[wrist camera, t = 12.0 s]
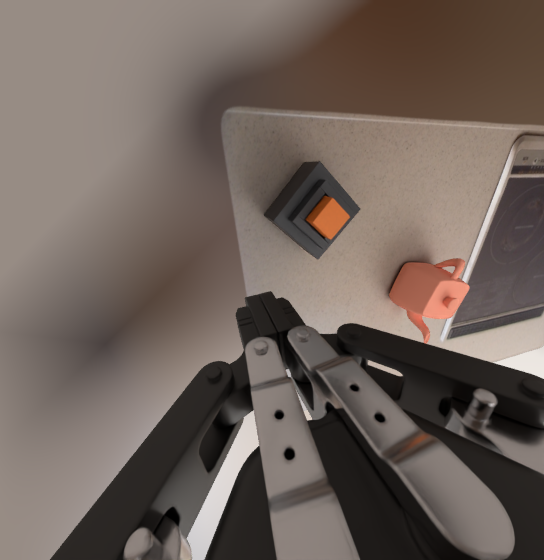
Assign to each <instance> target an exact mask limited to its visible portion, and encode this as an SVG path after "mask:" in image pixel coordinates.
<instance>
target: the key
mask: <svg viewBox="0 0 544 560" xmlns="http://www.w3.org/2000/svg"><path fill="white" fill-rule="evenodd" d="M349 218H350V216H349V215H348V214H347V213H346V212H345V210H344V209H343V208H342V207H341V206H340V205H339V204H338V203H337V202H336V201H335V199H334V198H332V197H327V196H324V197H323V198H322V199H321V200H320V202H319V203H318V204H317V205H316V207H315V208H314V209H313V210H312V212H311V213H310V214H309V215H308V217H307V218H306V220H307V221H308V222H309V223H310V224H311V225H312V226H313V227H314V228H315V229H316V230H317V231H318V232H319V233H320V234H321V235H323V236H324V237H326V238H328V239H330V240H331V239H332V238H333V237H334V236H335V235H336V233H337V232H338V231H339V230H340V229H341V227H342V226H343V225H344V224H345V223H346V221H347V220H348V219H349Z"/></svg>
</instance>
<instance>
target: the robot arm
mask: <svg viewBox="0 0 544 560" xmlns="http://www.w3.org/2000/svg"><path fill="white" fill-rule="evenodd" d="M245 302H246V307H242V308H238V310H237V312H236V319H237V324H238V328H239V333H240V337H241V341H242V345H243V348H244V352H243V354H242V355H241V356H240V357H239V358H238V359H237V360H236V361H234V362H233V363H231V364H228V363H226V362H222V361H216V362H212V363H210V364H208V365H206V366H204V367H203V368H202V369H201V370H200V371H199V373H198V374H197V375H196V376H195V377H194V379H193V380H192V381H191V383H190V384H189V385H188V386H187V388H186V389H185V390H184V391H183V393H182V394H181V395H180V396H179V398H178V399H177V400H176V401H175V403H174V404H173V405H172V406H171V408H170V409H169V410H168V412H167V413H166V414H165V415H164V417H163V418H162V419H161V420H160V422H159V423H158V424H157V425H156V427H155V428H154V429H153V431H152V432H151V433H150V434H149V436H148V437H147V438H146V439H145V441H144V442H143V443H142V444H141V446H140V447H139V448H138V449H137V451H136V452H135V453H134V454H133V456H132V457H131V458H130V459H129V461H128V462H127V463H126V464H125V466H124V467H123V468H122V470H121V471H120V472H119V474H118V475H117V476H116V477H115V478H114V480H113V481H112V482H111V484H110V485H109V486H108V487H107V488H106V490H105V491H104V492H103V493H102V495H101V496H100V497H99V499H98V500H97V501H96V502H95V504H94V505H93V506H92V508H91V509H90V510H89V511H88V512H87V514H86V515H85V516H84V518H83V519H82V520H81V521H80V523H79V524H78V525H77V526H76V528H75V529H74V530H73V532H72V533H71V534H70V535H69V536H68V538H67V539H66V540H65V541H64V543H63V544H62V545H61V546H60V548H59V549H58V550H57V552H56V553H55V554H54V555H53V557H52V558H51V559H50V560H192V553H191V548H190V545H189V542H188V540H187V539H186V538H187V536H188V534H189V532H190V530H191V528H192V526H193V524H194V522H195V520H196V518H197V516H198V514H199V512H200V510H201V508H202V505H203V503H204V501H205V499H206V497H207V495H208V493H209V491H210V489H211V487H212V485H213V483H214V481H215V478H216V477H217V475H218V473H219V471H220V468H221V466H222V464H223V462H224V460H225V458H226V456H227V454H228V452H229V450H230V448H231V446H232V444H233V442H234V439H235V438H236V436H237V434H238V431H239V429H240V427H241V425H242V423H243V419H244V417H245V416H246V415H247V414H249V413H250V412H251V411H253V410H254V414H255V421H256V426H257V433H258V440H259V446H258V447H257V448H256V449H255V450H254V451H253V452H252V453H251V454H250V456H249V457H248V458H247V460H246V461H245V463H244V464H243V466H242V468H241V470H240V471H239V473H238V476H237V478H236V480H235V483H234V486H233V488H232V491H231V493H230V496H229V498H228V501H227V503H226V506H225V509H224V511H223V514H222V516H221V519H220V521H219V524H218V526H217V529H216V532H215V534H214V537H213V539H212V542H211V544H210V547H209V550H208V552H207V555H206V557H205V560H544V379H542V378H540V377H538V376H535V375H532V374H529V373H525V372H522V371H519V370H515V369H512V368H508V367H505V366H501V365H498V364H495V363H491V362H488V361H484V360H481V359H477V358H474V357H470V356H467V355H463V354H460V353H456V352H453V351H449V350H446V349H442V348H439V347H435V346H432V345H428V344H425V343H421V342H418V341H415V340H411V339H408V338H404V337H401V336H397V335H394V334H390V333H387V332H383V331H380V330H376V329H373V328H369V327H366V326H362V325H359V324H353V323H349V324H344V325H342V326H340V327H339V328H338V330H337V334H319V333H318V332H317V331H316V330H315V329H314V328H312V327H309V326H306V325H305V323H304V322H303V320H302V319H301V318H300V316H299V315H298V313H297V312H296V311H295V309H294V308H293V307H292V305H291V304H290V302H289V301H288V300H286V299H284V298H278V299H276V298H275V296H274V295H273V293H272V292H271V291H270V292H266V293H262V294H258V295H253V296H249V297H245ZM368 360H370V361H373V362H376V363H378V364H381V365H384V366H387V367H389V368H392V369H395V370H397V371H399V372H400V373H401V374H402V375H403V376H396V375H394V374H391V373H388V372H385V371H383V370H380V369H377V368H375V367H372V366H369V365H368ZM286 369H289V370H290V372H291V377H288V375H287V372H286ZM296 390H297V392H298V394H299V396H300V397H301V399H302V401H303V403H304V405H305V406H306V408H307V410H308V412H309V413H310V415H311V417H312V420H309V421H307V420H306V417H305V414H304V411H303V409H302V406H301V403H300V400H299V398H298V395H297V392H296Z"/></svg>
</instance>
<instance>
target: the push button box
mask: <svg viewBox="0 0 544 560" xmlns="http://www.w3.org/2000/svg"><path fill="white" fill-rule="evenodd" d="M324 196H327V197H332V198H334V199H335V201H336V202H337V203H338V204H339V205H340V206H341V207H342V208H343V209H344V210H345V212H346V213H347V214H348V215H349V216H350V218H349V219H348V220H347V221H346V223H345V224H344V225H343V226H342V227H341V229H340V230H339V231H338V232H337V233H336V235H335V236H334V237H333V238H332V239H331V240H330V239H328V238H326V237H324V236H323V235H321V234H320V233H319V232H318V231H317V230H316V229H315V228H314V227H313V226H312V225H311V224H310V223H309V222H308V221H307V220H306V218H307V217H308V215H309V214H310V213H311V212H312V210H313V209H314V208H315V207H316V205H317V204H318V203H319V202H320V200H321V199H322V198H323V197H324ZM359 210H360V208H359V207H358V205H357V204H356V203H355V202H354V201H353V200H352V198H351V197H350V196H349V195H348V194H347V193H346V191H345V190H344V189H343V188H342V187H341V186H340V184H339V183H338V182H337V181H336V180H335V178H334V177H333V176H332V175H331V174H330V173H329V171H328V170H327V169H326V168H325V167H324V166H323V164H322V163H321V162H320V161H318V162H304V163H303V165H302V166H301V167H300V168H299V170H298V171H297V172H296V174H295V175H294V176H293V178H292V179H291V180H290V182H289V183H288V184H287V185H286V187H285V188H284V189H283V191H282V192H281V193H280V195H279V196H278V197H277V198H276V200H275V201H274V202H273V204H272V205H271V206H270V208H269V209H268V210H267V212H266V213H265V214H264V216H265V217H266V218H268V219H269V220H270V221H271V222H272V223H274V224H275V225H276V226H277V227H278V228H279V229H281V230H282V231H283V232H284V233H285V234H287V235H288V236H289V237H290V238H291V239H293V240H294V241H295V242H296V243H297V244H298V245H300V246H301V247H302V248H303V249H304V250H306V251H307V252H308V253H310V254H311V255H312V256H314V257H315V258H317V259H319V258H320V257H321V256H322V254H323V253H324V252H325V251H326V250H327V248H328V247H329V246H330V245H331V244H332V243H333V241H334V240H335V239H336V238H337V237H338V235H339V234H340V233H341V232H342V231H343V229H344V228H345V227H346V226H347V225H348V224H349V222H350V221H351V220H352V219H353V218H354V216H355V215H356V214H357V213H358V212H359Z"/></svg>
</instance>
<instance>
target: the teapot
mask: <svg viewBox="0 0 544 560" xmlns="http://www.w3.org/2000/svg"><path fill="white" fill-rule="evenodd" d="M447 266H455V270H454V272H453V274H452V273H450V272H448V271H446V270H444V269H442V267H447ZM464 266H465V261H464V260H462V259H458V258H457V259H450V260H446V261H443V262H441V263H438V264H436V265H432V264H428V263H417V262H411V263H406V264H404V266H403V267H402V269H401V271H400V273H399V274H398V276H397V278H396V280H395V283H394V285H393V287H392V289H391V292H390V294H389V297H390V299H391V300H392V301H393V302H394V303H395V304H397V305H398V306H400V307H402V308H404V309H406V310H407V316H408V318H409V319H410V320H411V322H412V323H413V324H415V325H416V326H417V327H418V328H419V329H420V331H421V332H422V334H423V337H424V343H425V344H426V343H427V342H428V340H429V338H430V331H429V329H428V327H427V326H426V325H425V323H424V322H423V320H422V316H424V317H428V318H434V319H447V318H451V317H452V316H453V315H454V313H455V312H456V310H457V309H458V307H459V305H460V304H461V302H462V300H463V299H464V297H465V295H466V294H467V292H468V290H469V285H468V284H466V283H465V282H464V281H462V280H461V279H460V278H458V277H459V275H460V274H461V272H462V271H463V269H464Z"/></svg>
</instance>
